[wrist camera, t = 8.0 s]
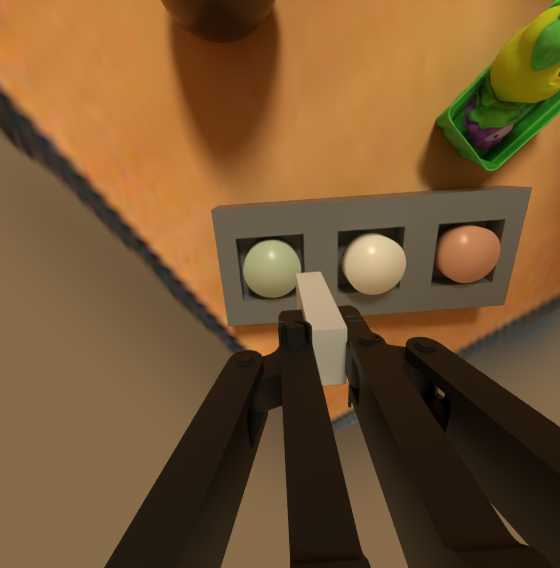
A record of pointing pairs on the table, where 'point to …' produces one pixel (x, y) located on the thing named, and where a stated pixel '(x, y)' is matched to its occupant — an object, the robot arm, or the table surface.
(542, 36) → the fruit basket
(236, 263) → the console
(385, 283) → the cream button
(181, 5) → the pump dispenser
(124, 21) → the table surface
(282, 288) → the sage button
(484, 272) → the terracotta button
